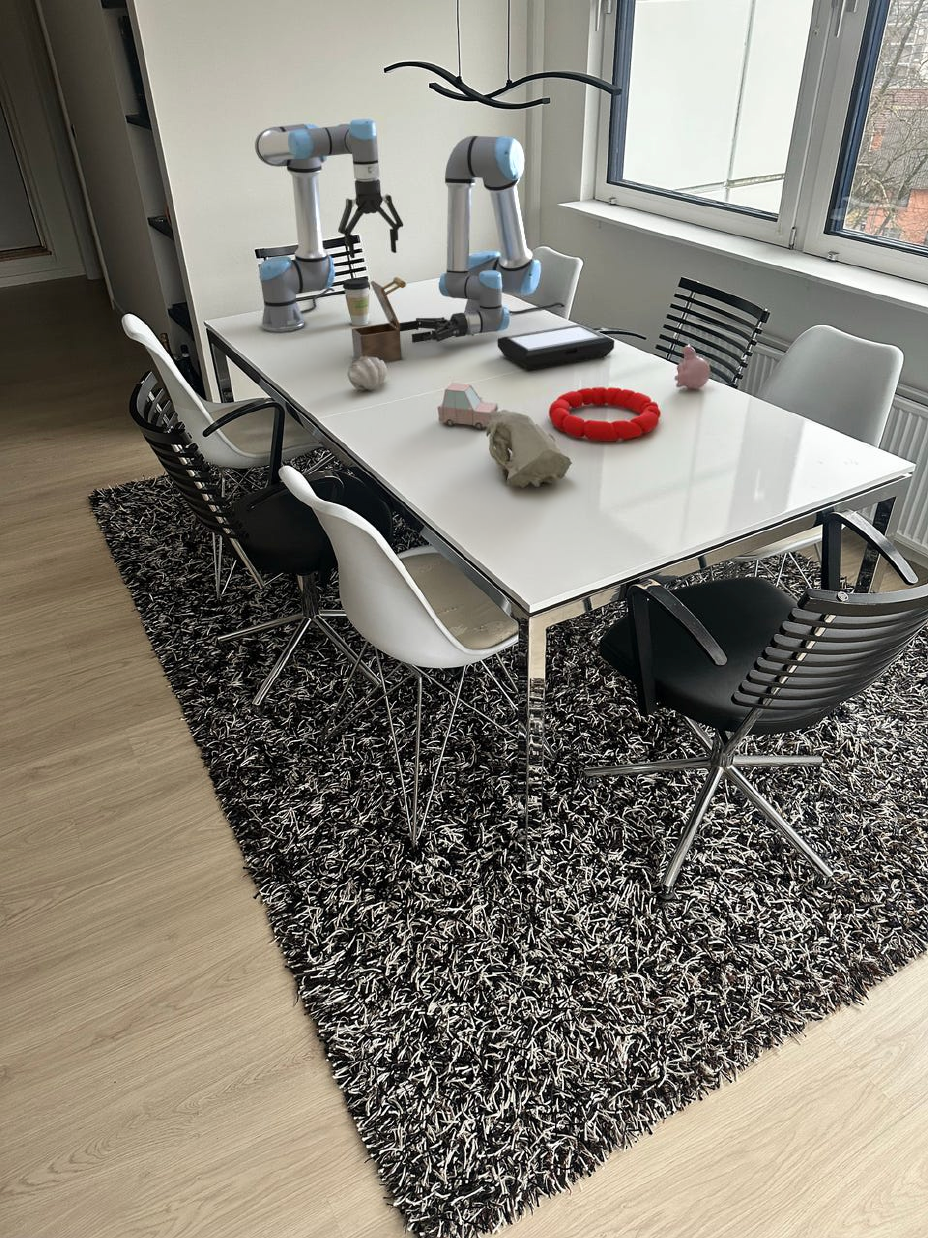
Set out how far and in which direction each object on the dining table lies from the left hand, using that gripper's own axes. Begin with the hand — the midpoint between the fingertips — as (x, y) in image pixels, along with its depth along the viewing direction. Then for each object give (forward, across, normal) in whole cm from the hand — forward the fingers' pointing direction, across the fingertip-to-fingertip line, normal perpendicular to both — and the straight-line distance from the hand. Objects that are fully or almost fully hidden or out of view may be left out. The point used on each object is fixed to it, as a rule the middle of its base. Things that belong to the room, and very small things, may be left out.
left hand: (373, 254), depth 276 cm
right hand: (+25, +9, 0) cm, 27 cm away
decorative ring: (+32, +36, -81) cm, 95 cm away
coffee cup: (+32, +6, +41) cm, 52 cm away
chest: (+32, -1, 0) cm, 32 cm away
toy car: (+32, +2, -65) cm, 72 cm away
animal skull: (+32, +2, -98) cm, 103 cm away
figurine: (+32, +71, -71) cm, 106 cm away
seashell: (+32, -13, -26) cm, 44 cm away
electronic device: (+32, +51, -26) cm, 66 cm away
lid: (+16, +2, 0) cm, 16 cm away
